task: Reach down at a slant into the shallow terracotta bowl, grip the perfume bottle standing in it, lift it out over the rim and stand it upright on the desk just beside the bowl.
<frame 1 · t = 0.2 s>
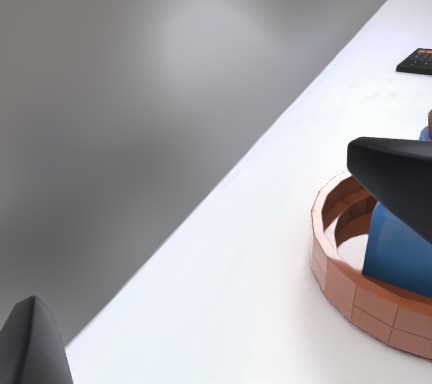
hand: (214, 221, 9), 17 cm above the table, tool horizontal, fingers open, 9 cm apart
perfume bottle: (415, 261, 26), resting on bowl
bowl: (414, 263, 26), on the table
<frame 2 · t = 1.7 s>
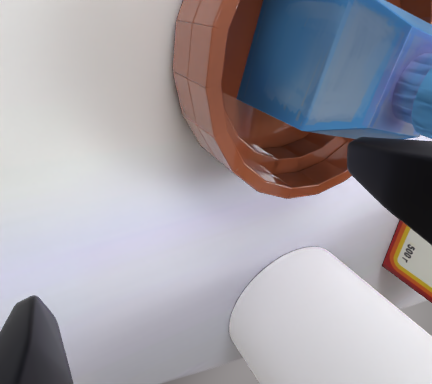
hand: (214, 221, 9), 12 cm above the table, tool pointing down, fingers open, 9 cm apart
perfume bottle: (288, 57, 21), resting on bowl
canister: (285, 299, 35), on the table
bowl: (286, 56, 22), on the table
baking soda box: (410, 227, 41), on the table
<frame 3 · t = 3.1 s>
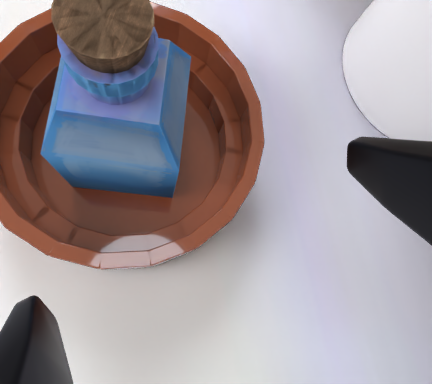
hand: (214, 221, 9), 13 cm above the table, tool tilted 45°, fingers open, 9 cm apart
perfume bottle: (130, 147, 23), resting on bowl
canister: (415, 75, 29), on the table
bowl: (130, 148, 23), on the table
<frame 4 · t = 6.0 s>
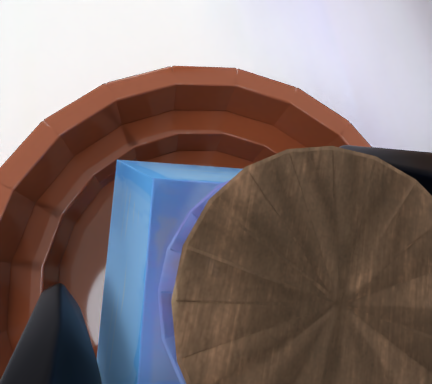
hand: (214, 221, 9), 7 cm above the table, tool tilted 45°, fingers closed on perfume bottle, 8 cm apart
perfume bottle: (202, 277, 15), resting on bowl, touching gripper
bowl: (202, 279, 15), on the table
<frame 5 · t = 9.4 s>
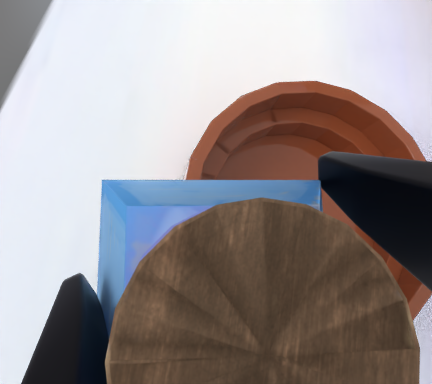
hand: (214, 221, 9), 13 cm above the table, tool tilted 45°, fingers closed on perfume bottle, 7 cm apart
perfume bottle: (204, 278, 15), point 6 cm above the table, touching gripper
bowl: (291, 218, 23), on the table
when the fingers open (7 cm above the table, at t = 13.0 s): perfume bottle stays where it is, on the table.
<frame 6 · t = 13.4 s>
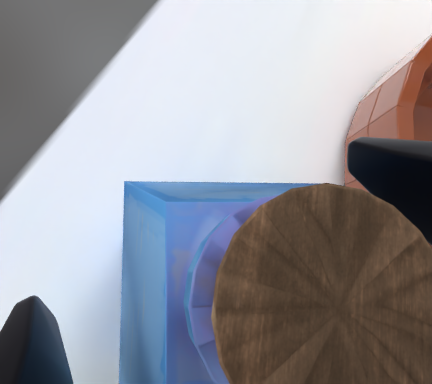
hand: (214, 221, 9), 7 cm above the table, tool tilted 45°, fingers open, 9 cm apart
perfume bottle: (203, 281, 16), on the table
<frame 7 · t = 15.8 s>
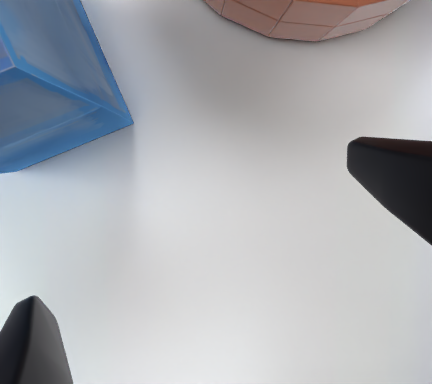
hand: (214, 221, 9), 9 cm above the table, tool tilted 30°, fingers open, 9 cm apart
perfume bottle: (48, 87, 17), on the table
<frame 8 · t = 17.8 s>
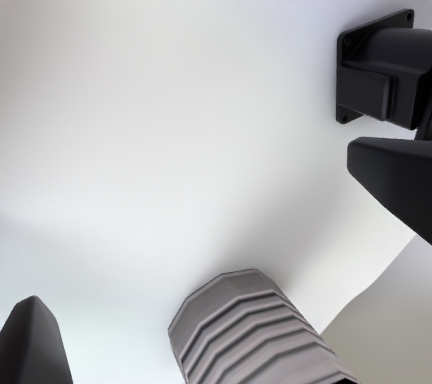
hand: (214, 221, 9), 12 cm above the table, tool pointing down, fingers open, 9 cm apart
can: (223, 315, 32), on the table
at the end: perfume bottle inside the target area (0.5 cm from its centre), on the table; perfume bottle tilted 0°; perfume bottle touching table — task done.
